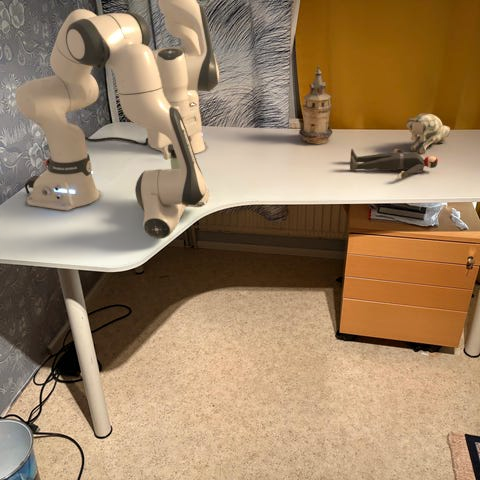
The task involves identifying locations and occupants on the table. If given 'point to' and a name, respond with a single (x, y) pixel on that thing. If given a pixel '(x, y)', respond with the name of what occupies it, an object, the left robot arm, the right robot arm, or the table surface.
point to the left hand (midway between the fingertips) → (180, 184)
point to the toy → (393, 162)
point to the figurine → (427, 131)
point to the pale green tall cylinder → (174, 163)
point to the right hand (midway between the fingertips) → (177, 153)
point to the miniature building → (316, 112)
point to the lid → (172, 151)
